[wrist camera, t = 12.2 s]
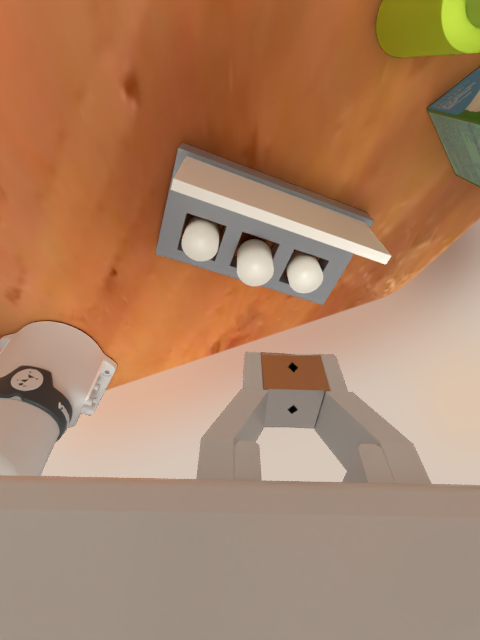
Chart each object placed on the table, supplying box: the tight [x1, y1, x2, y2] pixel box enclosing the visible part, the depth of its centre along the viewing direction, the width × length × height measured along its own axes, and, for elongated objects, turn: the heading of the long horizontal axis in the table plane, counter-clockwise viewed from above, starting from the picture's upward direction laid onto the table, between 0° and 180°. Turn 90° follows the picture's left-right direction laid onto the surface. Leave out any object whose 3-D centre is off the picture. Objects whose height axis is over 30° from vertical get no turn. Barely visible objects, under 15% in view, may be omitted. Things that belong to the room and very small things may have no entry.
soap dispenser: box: [376, 0, 480, 57], centre depth 23 cm, size 6×7×20 cm
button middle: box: [237, 239, 274, 286], centre depth 41 cm, size 4×4×4 cm
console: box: [155, 142, 391, 305], centre depth 39 cm, size 13×24×12 cm, turn 71°
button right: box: [285, 250, 323, 293], centre depth 44 cm, size 4×4×4 cm
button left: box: [181, 216, 220, 261], centre depth 42 cm, size 4×4×4 cm
